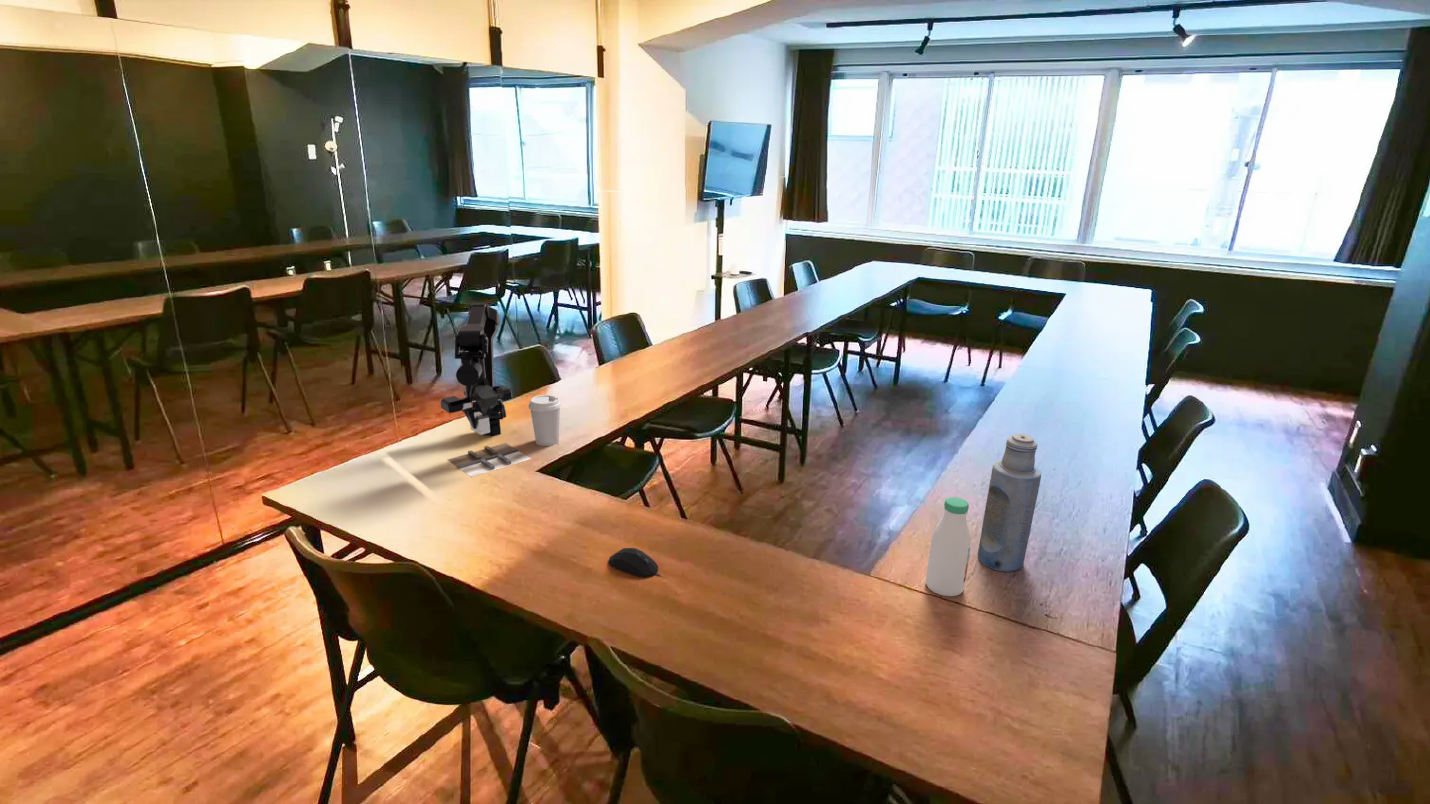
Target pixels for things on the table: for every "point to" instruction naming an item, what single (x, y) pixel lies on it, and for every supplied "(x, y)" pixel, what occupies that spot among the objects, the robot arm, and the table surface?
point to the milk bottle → (949, 550)
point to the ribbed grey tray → (488, 459)
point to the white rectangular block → (481, 423)
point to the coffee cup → (545, 419)
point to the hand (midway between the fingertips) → (479, 427)
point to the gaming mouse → (634, 563)
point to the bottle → (1010, 506)
